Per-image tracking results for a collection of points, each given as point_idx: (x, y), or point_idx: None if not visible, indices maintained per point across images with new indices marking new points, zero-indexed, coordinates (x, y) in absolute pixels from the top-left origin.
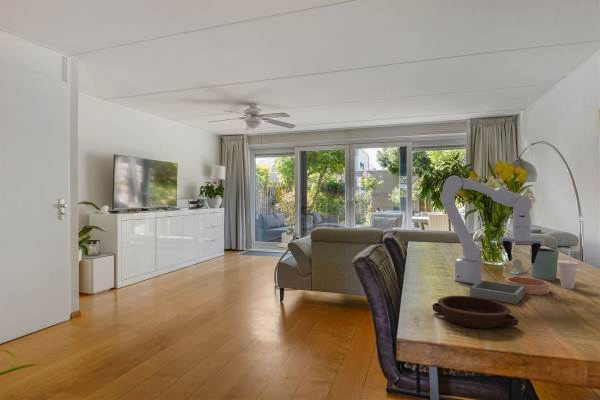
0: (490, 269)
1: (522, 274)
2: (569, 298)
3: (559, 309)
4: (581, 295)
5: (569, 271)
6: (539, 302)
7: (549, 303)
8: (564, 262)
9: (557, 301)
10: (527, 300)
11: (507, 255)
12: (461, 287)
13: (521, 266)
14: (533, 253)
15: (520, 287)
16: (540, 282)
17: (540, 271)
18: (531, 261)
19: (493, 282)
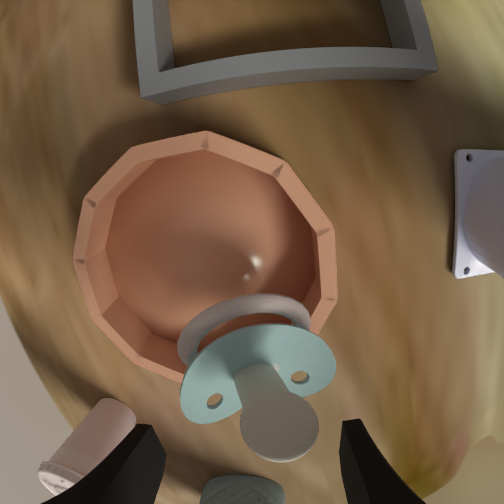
0: (430, 476)
1: (220, 316)
2: (25, 222)
3: (19, 16)
4: (30, 313)
5: (65, 446)
6: (77, 29)
7: (47, 55)
8: (68, 486)
9: (33, 120)
10: (123, 10)
11: (382, 455)
12: (477, 30)
13: (245, 405)
14: (88, 489)
15: (152, 39)
16: (157, 353)
17: (240, 500)
18: (144, 435)
19: (353, 47)
